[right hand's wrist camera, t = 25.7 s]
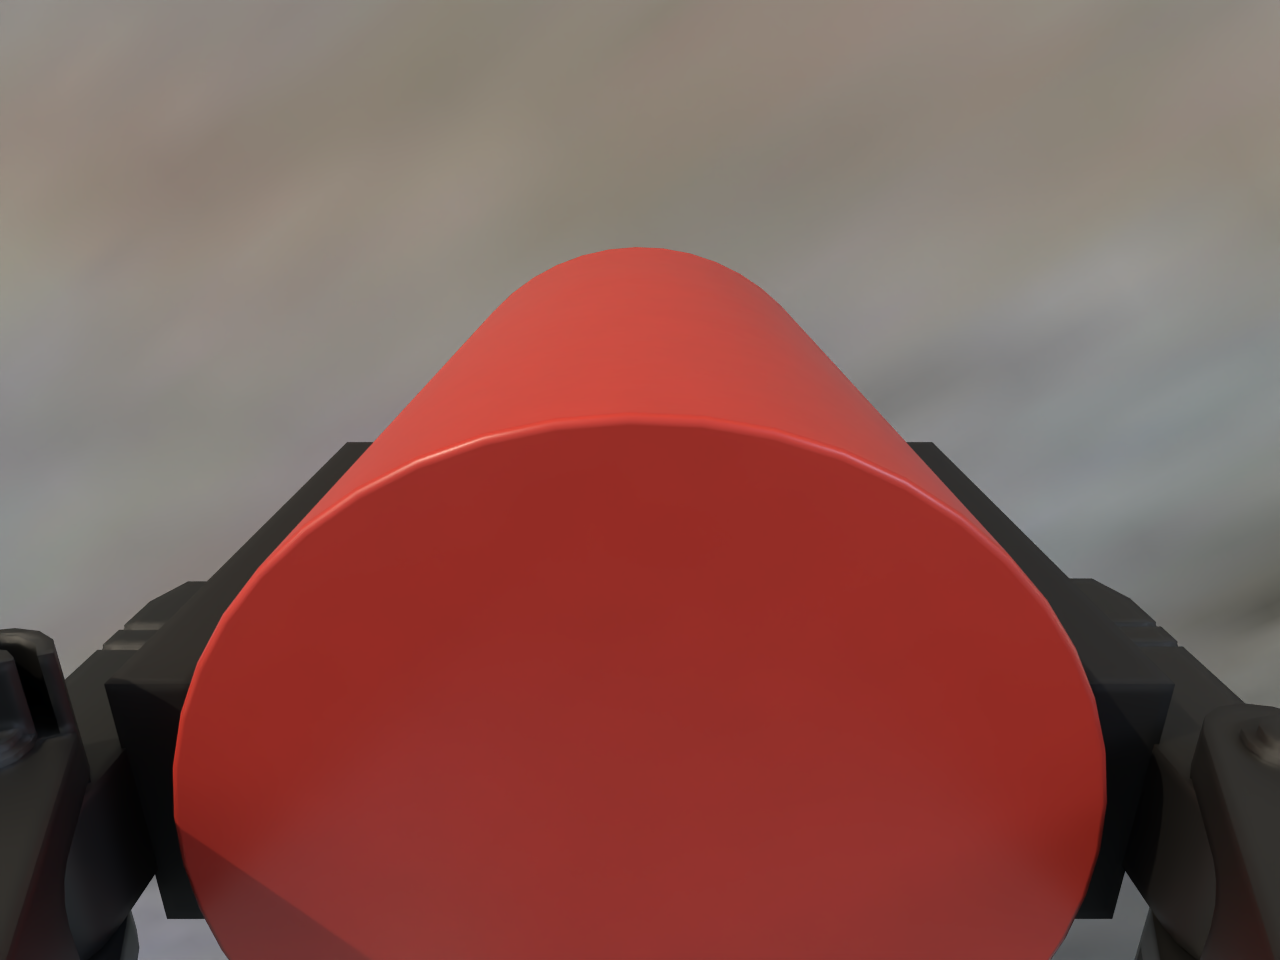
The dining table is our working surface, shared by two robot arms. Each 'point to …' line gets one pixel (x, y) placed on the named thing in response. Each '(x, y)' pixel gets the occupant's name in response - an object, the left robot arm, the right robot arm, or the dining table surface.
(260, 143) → the dining table surface
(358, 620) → the canister
